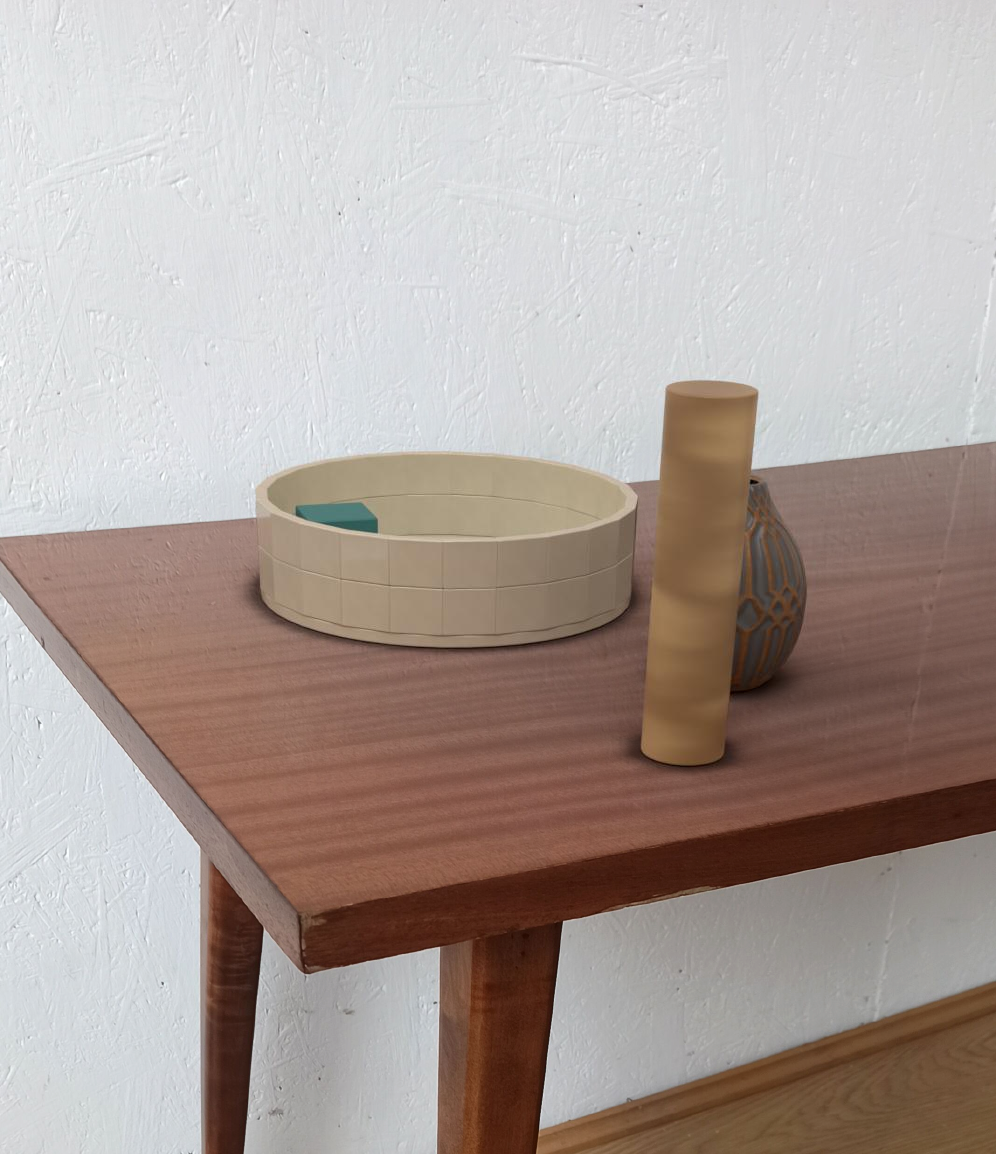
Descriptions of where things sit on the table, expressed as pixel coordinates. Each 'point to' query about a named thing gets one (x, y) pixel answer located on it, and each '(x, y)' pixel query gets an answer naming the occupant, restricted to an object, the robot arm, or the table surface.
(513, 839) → the table surface
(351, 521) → the block
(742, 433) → the stick
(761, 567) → the vase
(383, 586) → the bowl
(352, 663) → the table surface
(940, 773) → the table surface
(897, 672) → the table surface
